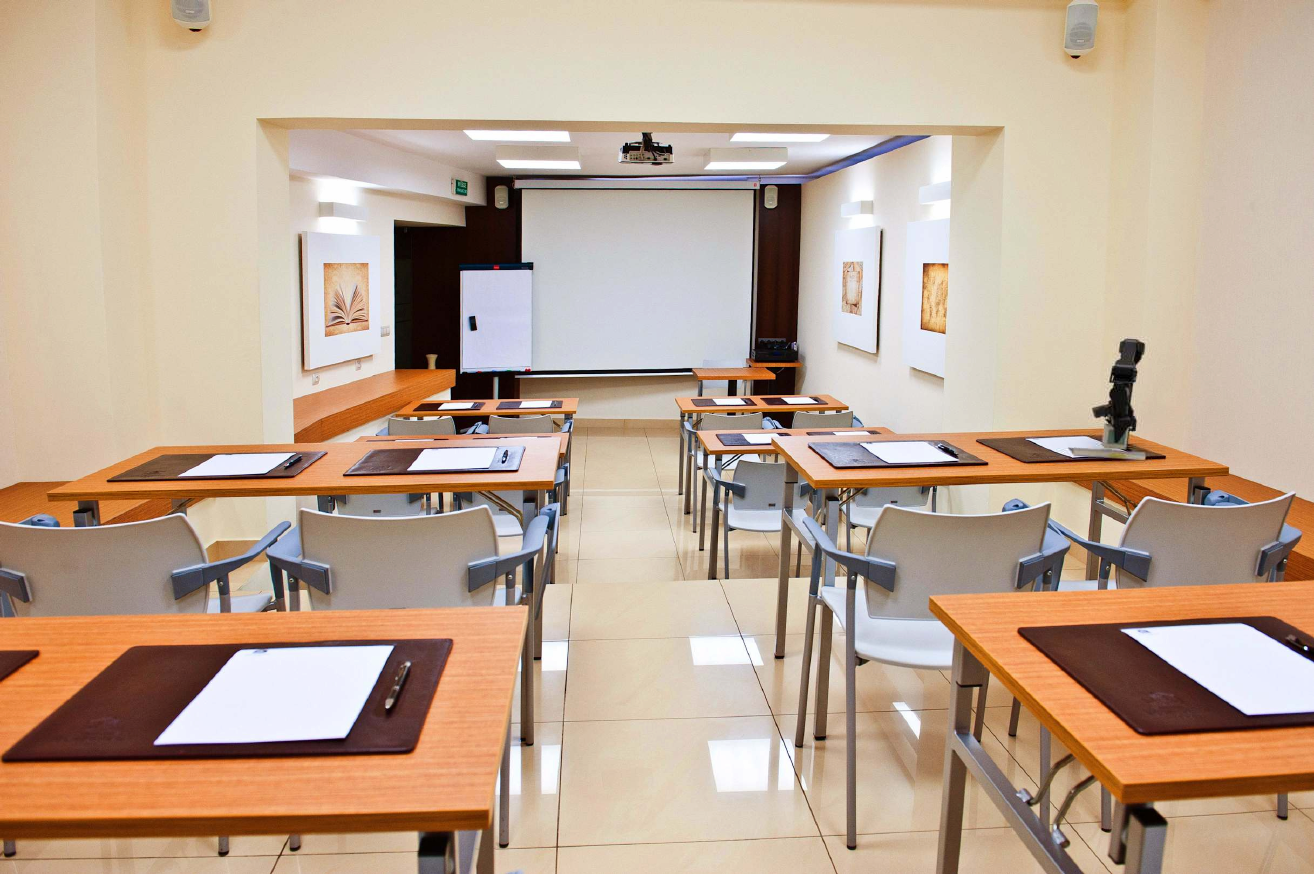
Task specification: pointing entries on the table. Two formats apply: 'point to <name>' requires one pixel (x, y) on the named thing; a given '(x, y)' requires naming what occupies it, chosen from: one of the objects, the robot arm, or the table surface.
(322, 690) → the table surface
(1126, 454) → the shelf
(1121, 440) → the tea box
